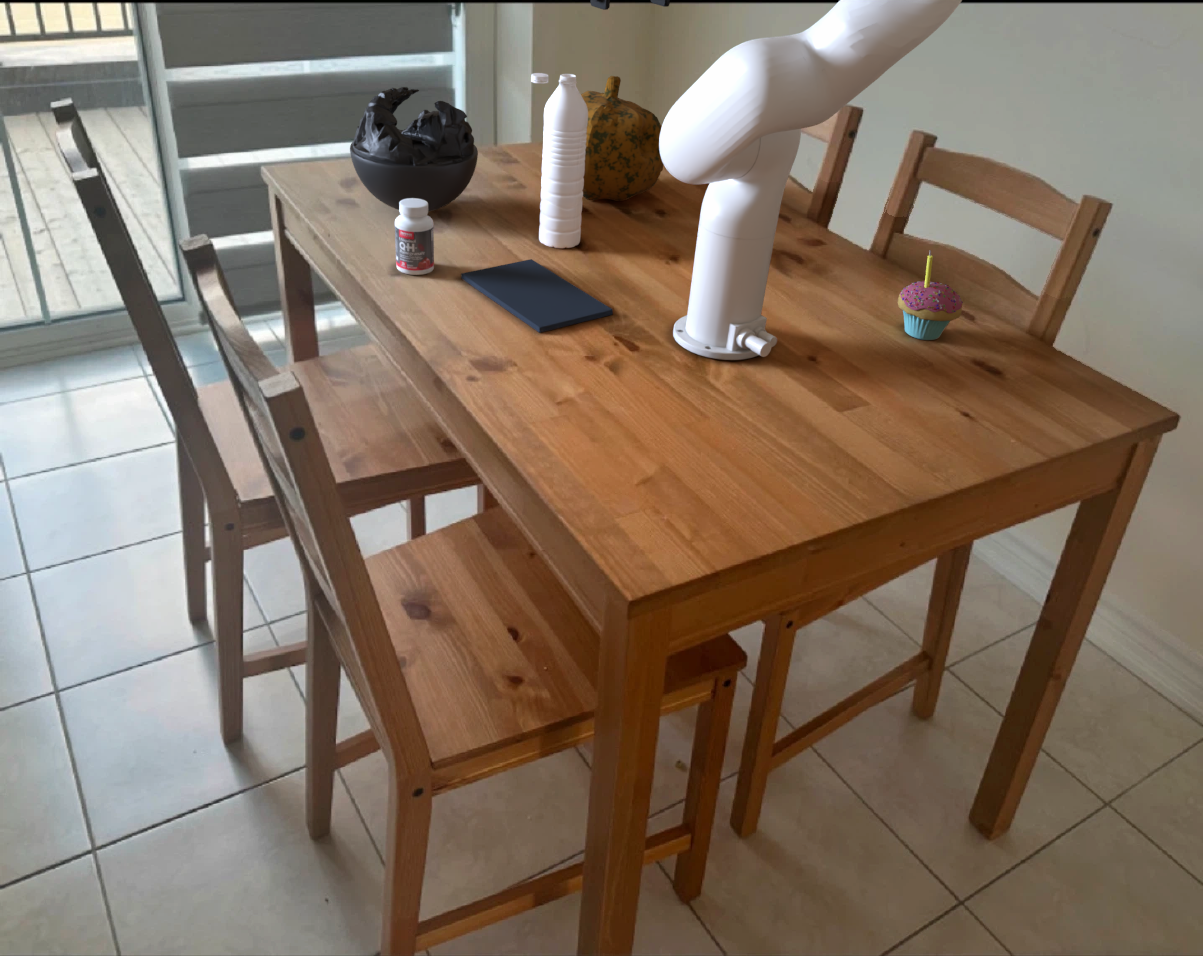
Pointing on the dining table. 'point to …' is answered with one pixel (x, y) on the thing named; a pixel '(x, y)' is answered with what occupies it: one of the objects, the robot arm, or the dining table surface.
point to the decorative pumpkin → (619, 146)
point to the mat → (536, 295)
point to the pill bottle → (414, 238)
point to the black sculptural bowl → (413, 152)
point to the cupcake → (928, 306)
